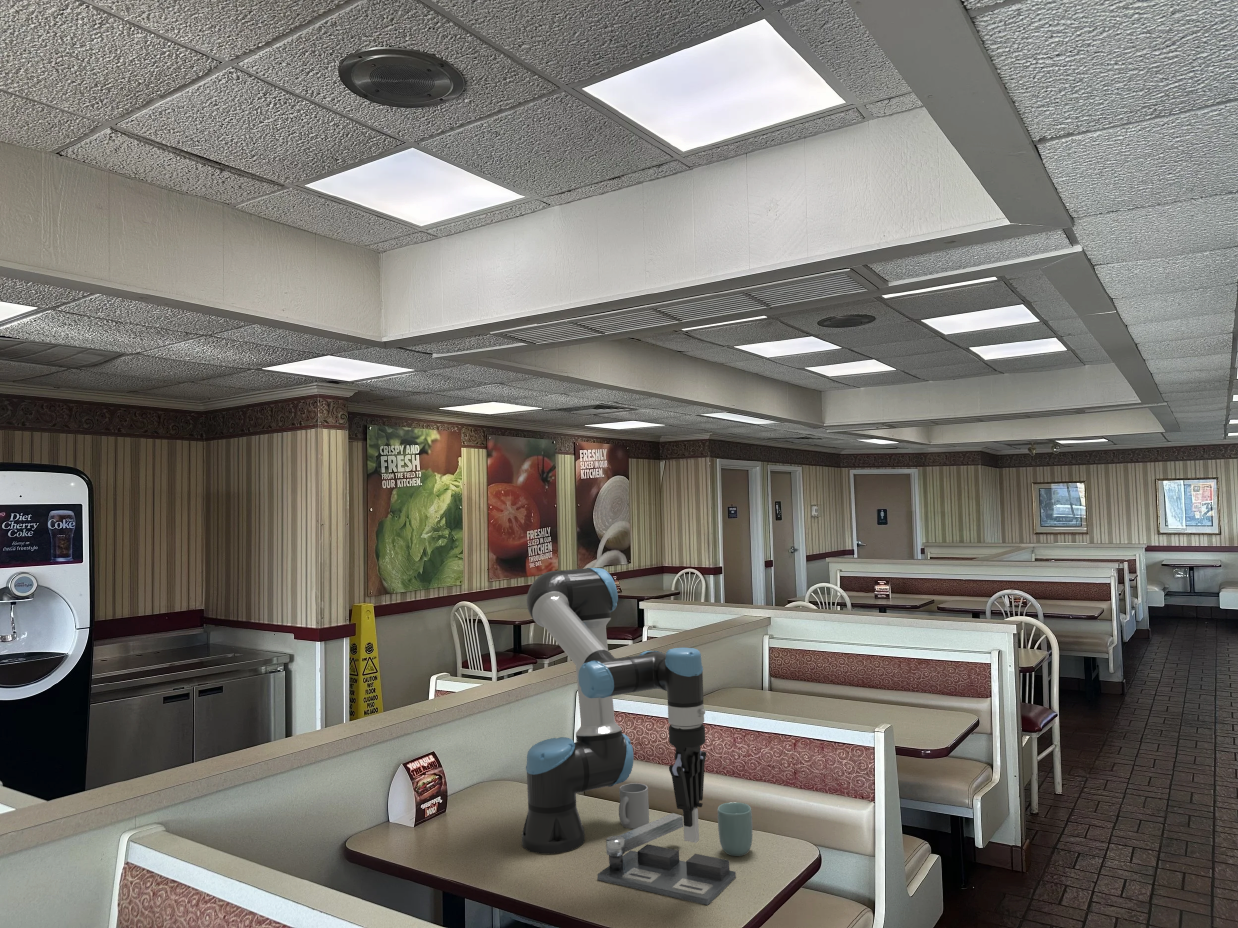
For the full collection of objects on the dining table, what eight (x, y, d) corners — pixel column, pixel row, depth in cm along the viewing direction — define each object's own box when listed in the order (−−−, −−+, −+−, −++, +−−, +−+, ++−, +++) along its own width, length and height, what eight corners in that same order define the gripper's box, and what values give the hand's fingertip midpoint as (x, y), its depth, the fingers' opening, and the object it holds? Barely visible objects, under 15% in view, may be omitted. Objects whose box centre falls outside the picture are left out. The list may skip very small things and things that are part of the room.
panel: (597, 879, 179) (596, 859, 180) (630, 855, 191) (629, 836, 192) (707, 905, 166) (706, 883, 166) (735, 877, 178) (734, 857, 178)
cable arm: (615, 857, 180) (614, 844, 180) (602, 852, 182) (602, 839, 183) (684, 827, 195) (684, 814, 195) (672, 822, 198) (671, 810, 198)
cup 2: (752, 860, 186) (750, 814, 187) (717, 858, 188) (715, 813, 188) (754, 846, 194) (752, 802, 194) (720, 844, 195) (718, 801, 196)
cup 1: (654, 821, 212) (653, 785, 212) (633, 835, 203) (631, 797, 204) (630, 816, 216) (629, 781, 216) (608, 829, 207) (607, 793, 208)
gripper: (688, 733, 166) (694, 855, 165) (716, 718, 178) (721, 832, 176) (655, 730, 170) (660, 848, 169) (684, 715, 181) (689, 826, 180)
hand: (691, 840), depth 173 cm, fingers closed
